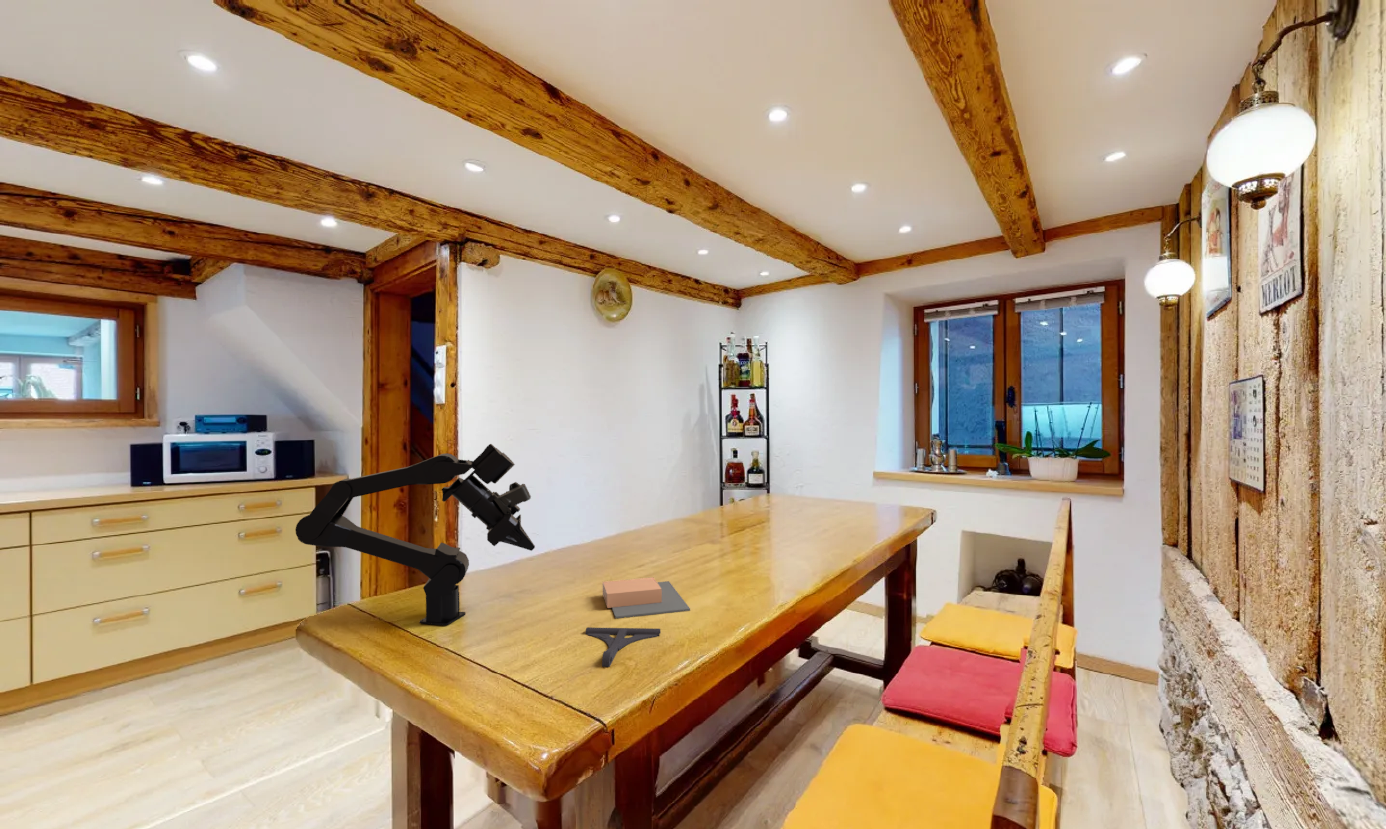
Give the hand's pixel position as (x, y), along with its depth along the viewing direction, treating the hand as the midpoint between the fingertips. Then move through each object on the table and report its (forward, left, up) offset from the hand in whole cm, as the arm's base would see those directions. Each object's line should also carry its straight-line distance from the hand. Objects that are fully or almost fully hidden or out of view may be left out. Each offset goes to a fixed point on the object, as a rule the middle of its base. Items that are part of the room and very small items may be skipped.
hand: (533, 548), depth 120 cm
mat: (+11, -21, -13) cm, 28 cm away
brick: (+7, -13, -11) cm, 19 cm away
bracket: (-15, -24, -14) cm, 31 cm away
